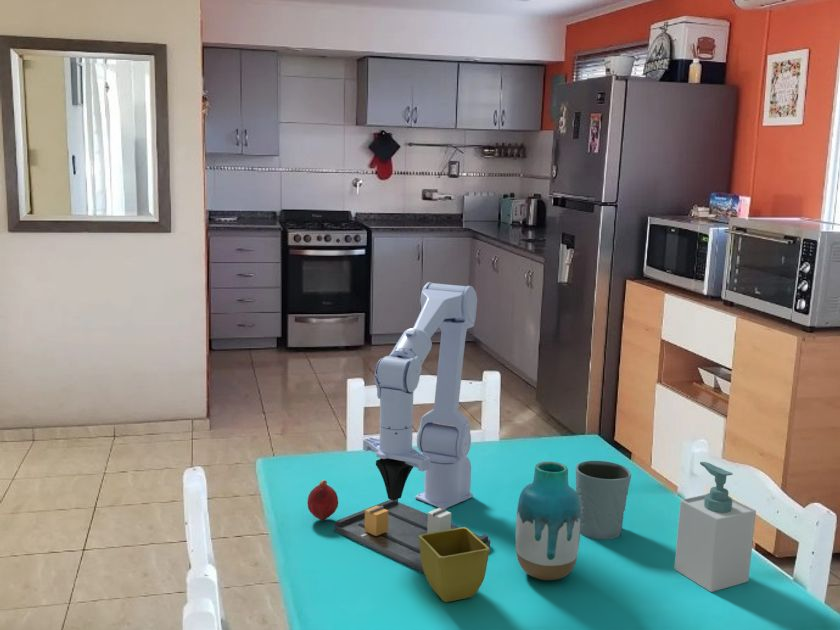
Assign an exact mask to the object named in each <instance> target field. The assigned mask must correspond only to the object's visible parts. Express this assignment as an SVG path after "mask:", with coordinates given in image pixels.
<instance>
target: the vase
mask: <svg viewBox="0 0 840 630" xmlns="http://www.w3.org/2000/svg"><path fill="white" fill-rule="evenodd" d="M533 474H534V475H533V481H532V482H531V483H529V484H527V485H525V487H523V488H522V490H521V491H520V493H519V497H518V503H517V509H516V510H517V511H516V521H515V522H516V523H515V551H516V553H515V554H516V558H517V561H518V562H517V563H518V564H519V566H520V567H521V569H522V570H523V571H524V573H526V574H527V575H529V576H531V577H533V578H535V579H539V580H543V581H556V580H561V579H563V578H565V577H567V576H568V575H569V574H570V573H572V572H571V571H572V570H574V567H575V565H576V562H577V559H578V554H579V547H580V539H581V534H580V526H581V507H580V499H579V496H578V494H577V492H576V489H574V488H572V486H571V487H570V486H569V469H568V467H567V466H566V465H565V464H562V463H560V462H557V461H542V462H538V463H537V464H536V465H535V466H534V473H533Z"/></svg>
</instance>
